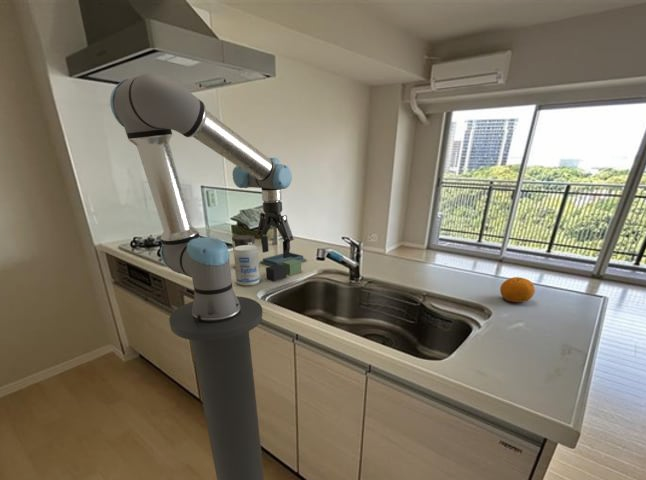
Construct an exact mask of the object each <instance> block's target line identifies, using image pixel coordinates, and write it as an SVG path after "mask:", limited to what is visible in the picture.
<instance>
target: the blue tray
mask: <svg viewBox="0 0 646 480" xmlns="http://www.w3.org/2000/svg"><path fill="white" fill-rule="evenodd" d="M292 259H295V260H299V261H301V263H304V262H307V258H304V255H301V254H297V253H294V252H290V257H288V258H284V257H283V253H279V254H276V255H272V256H267V257H263V258H262V260H260V263H259V264H262V265H265V266H267V267H270V266H274V265H278V264H279V265H282V262H285V261H289V260H292Z"/></svg>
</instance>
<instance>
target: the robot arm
mask: <svg viewBox="0 0 646 480" xmlns="http://www.w3.org/2000/svg"><path fill="white" fill-rule="evenodd" d="M109 102H110V103H109V105H110V110H111V112H112V114H113V117H114V118H115V120H116V121H117V122H118V124H119V125H120V126H122V127H123V129H124V131H125V134H126V137H127V140H128V141H129V142H130V143H132V144H133V145H134V146H136V149H137V153H138V155H139V158H140V161H141V164H142V167H143V170H144V174H145V177H146V180H147V183H148V186H149V189H150V192H151V195H152V196H151V197H152V198H153V202H154V205H155V208H156V211H157V214H158V217H159V221H160V224H161V226H162V230H163V232H162V233H161V235H160V241H161V247H160V249H159V252H160V258H161V261H162V263H163V264H164V265H165V266H166V267H167V268H168V269H170V270H171V271H173V272H175V273H177V274H181V275H183V276H186V277H189V278H191V279H192V285H193V291H194V296H193V301H192V302H193V306H192V315H193V318H194V319H195V322H196V323H197V322H198V321H200V322H206V323H214V322H222V321H226V320H229V319H232V318H234V317H236V316H237V315H238V314H239V313H240V312H241V307H240V303H239V301H238V299H237V297H236V296H237V294H236V293H235V291H234V288H233V280H232V273H231V272H232V271H231V263H230V253H229V249H228V245H227V243H226V242H225V241H223V240H222V239H219V238H215V237H206V236H205V237H204V236H203V237H201V236H200V232H199V230H198V229H197V228H195V227H194V226H193V225H192V222H191V219H190V214H189V211H188V208H187V207H188V206H187V204H186V201H185V196H184V193H183V189H182V185H181V182H180V177H179V174H178V171H177V168H176V164H175V161H174V160H175V159H174V157H173V151H172V149H171V145H170V141H171V140H172V138H173V131H175V132H177V133H179V134H180V135H182V136H184V137H185V138H191V137H192V138H194V139H195V140H197V141H198V142H200V143H201V144H203V145H205V146H206V147H208V148H209V149H211V150H212V151H214V152H215V153H216V154H218V155H220V156H221V157H222V158H224V159H226V160H227V161H229V162H230V163H232V164H233V165H234V166H235V167H233V170H232V180H233V183H234V184H235V186H236V187H237V188H239V189H248V188H255V189H261V200H262V211H263V212H259V223H258V227H257V231H256V234H257V235H259V237H260V243H261V247H262V248H261V250H262V253H268V252H269V238H268V232H269V230H270V228H271V227H274V228H275V229H277V231H278V232H279V235H280V236H281V238H282V240H283V241H282V254H283V257H284V258H288V257H290V253H291V252H290V250H291V241H294V235H293V233H292V230H291V227H290V224H289V221H288V215H286V214H284V215H282V211H283V202H282V200H283V199H282V198H283V197H282V190H286V189H287V188H289V187H290V185H291V183H292V180H293V173H292V171H291V168H290V167H289V166H288V165H286V164H282V163H280V160H279V158H278V157H268V156H266V155H265V154H264V153H263V152H262V151H260V150H259V149H257V148H256V147H255V146H254V145H253V144H251V143H250V142H248V141H247V140H246V139H244V138H243V137H242V136H241V135H239V134H238V133H237V132H236V131H234V130H233V129H232V128H230V127H229V126H228V125H226V124H225V123H223V122H222V121H221V120H220V119H219V118H217V117H216V116H215V115H213V114H212V113H211V112H209V111H208V110H207V109H206V105H205V103H204V102H203V101H202V100H201V99H199V98H198V97H197V96H196V95H194V94H193V93H192V92H190V91H189V90H188V89H186V88H185V87H183V86H182V85H180V84H179V83H177V82H176V81H174V80H172V79H170V78H169V77H167V76H165V75H163V74H159V73H155V72H145V73H142V74H139V75H137V76H133V77H130V78H125V79H124V80H121V81H120V82H119V83H117V85H116V86H114V87H113V89H112V92H111V94H110V100H109Z"/></svg>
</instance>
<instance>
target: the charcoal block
mask: <svg viewBox="0 0 646 480" xmlns="http://www.w3.org/2000/svg"><path fill="white" fill-rule="evenodd" d="M265 274H266V280H268V281H271V282H277V281H280V280H282V279H286V278H287V274H286V266H283V265H279V264H278V265H274V266H267V267H265Z"/></svg>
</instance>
